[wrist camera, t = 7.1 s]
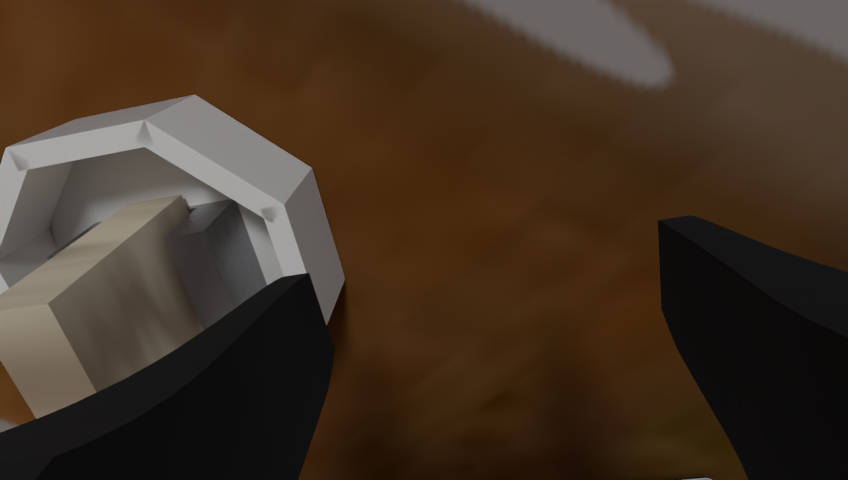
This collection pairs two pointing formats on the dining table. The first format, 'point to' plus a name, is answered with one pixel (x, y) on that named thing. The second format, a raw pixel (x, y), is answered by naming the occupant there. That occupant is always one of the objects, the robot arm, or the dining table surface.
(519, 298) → the dining table surface
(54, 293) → the wood grain plank
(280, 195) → the bowl
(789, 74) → the dining table surface
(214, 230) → the clip
